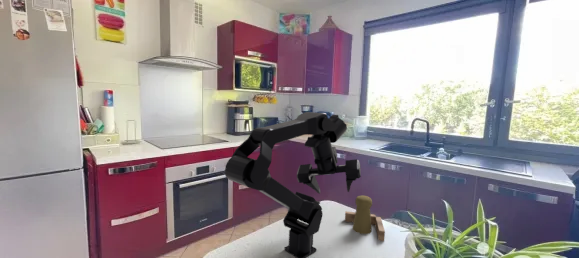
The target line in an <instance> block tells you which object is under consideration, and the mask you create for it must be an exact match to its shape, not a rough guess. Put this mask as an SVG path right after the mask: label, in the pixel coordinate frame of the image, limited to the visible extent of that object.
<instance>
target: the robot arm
mask: <svg viewBox="0 0 579 258" xmlns="http://www.w3.org/2000/svg"><path fill="white" fill-rule="evenodd" d="M347 128H348V126H347V123H346V122H345V121H344V120H343V119H341V118H340V117H339V115H338V114H331V115H330V116H329V117H328V115H327V113H326V112H315V111H313V112H311V111H304V112H303V113H301V114H299V115H297V116H296V118H295V119H291V120H288V121H284V122H279V123H276V124H271V125H267V126H263V127H261V126H260V127H255V128H253V129H252V131H251V132H250V134H249V135H248V137H247V139H245V140H244V141H243V142H242V143H240V145H239V146H238V147H237V148H236V149H235V150H234V152H233V154H232V156H231V157H230V158H229V159H228V160H227V162H226V164H225V168H224V172H225V174H224V175H225V177H226V178H227V179H228V180H229V181H232V182H235V183H236V184H238V185H242V186H245V187H246V188H249V189H253V190H256V191H258V192H260V193H262V194H263V195H265V196H266V197H268V198H270V199H272V200H273V201H274V202H277V203H278V204H280V205H281V206H283V207H285V208H286V209H287V213H286V214H285V217H284V218H283V220H282V223H283V225H284V227H285V228H289V230H288V245H287V246H285V247H284V250H285V252H288V253H289V254H291V255H293V257H296V258H307V257H309V256H310V255H312V254H314V253H315V252H317V250H318V249H317V248H316V247H315V246H314V235H315V234H317V233H319V230H320V228H321V227H320V226H321V223H322V220H323V211H322V210H323V208H322V207H323V206H321V201H318V200H316V199H315V198H314V197H313V196H310V195H307V194H305V193H302V192H298V191H295V192H293V191H291V190H290V189H289V188H287V187H286V186H284V184H282V183H280V182H279V181H277V180H276V179H275V178H273V177H272V176H271V175H272V174H271V172H270V170H269V167H270V166H271V164H272V157H273V148H274V147H275V145H276V144H277V145H278V144H280V143H282V142H283V143H284V142H286V141H290V140H292V139H296V138H299V137H301V136H305V135H308V137H307V139H306V141H305V142H304V147H306V148H311V151H312V154H313V159H314V161H313V163H314V165H316V168H313V165H312V164H311V163H308V164H300V165H299V166H298V169H297V172H296V180H297V182H298V183H300V184H303V185H306V186H308V187H310V188H311V189H312V190H314V191H315V192H316V193H318V194H319V195H320V194H321V188H320V185H319V182H318V181H317V178H316V176H327V175H328V176H329V175H335V174H340V173H341V174H342V173H345V184H346V191H347V192H348V193H350V190H351V185H352V184H353V181H357V179H360V178H361V177H362V176H361V162H360V160H359V159H358V158H356V159H355V158H354V159H347V160H345V162H344V163H345V164H338V151H337V148H336V146H332V144H334V143H336V142H338V140H339V139H340V138H341V137H342V136H343V135H344V133H346V131H347V130H348V129H347ZM309 135H311V136H309ZM258 148H259V155H258V157H257V158H256V159H255V158H252V157H250V156H251V155H252V154H253V153H254V152H255V151H257V150H258Z"/></svg>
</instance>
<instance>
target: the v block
mask: <svg viewBox="0 0 579 258" xmlns="http://www.w3.org/2000/svg"><path fill="white" fill-rule="evenodd" d="M344 213H345V214H344V222H347V223H352V224H354V219H355V214H356V211H347V210H346V211H345V212H344ZM370 214H371V226H375V230H376V231H375V232H376V235H377V239H378V241H381V242H385V238H386V237H385V234H386V231H385V227H384V225H383V220H382V217H380V216H376V214H373V213H370Z"/></svg>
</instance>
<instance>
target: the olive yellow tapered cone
mask: <svg viewBox="0 0 579 258" xmlns="http://www.w3.org/2000/svg"><path fill="white" fill-rule="evenodd" d="M355 205H356V209H355V212H356V214H355V219H354V223H352V225H353V226H352V230H353V231H354V232H355V233H357V234H361V235H369V234H372V231H373V230H372V225H371V214H372V213H371V208H372V206H373V200H372V198H371V197H369V196H368V195H358V196H356V198H355Z"/></svg>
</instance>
